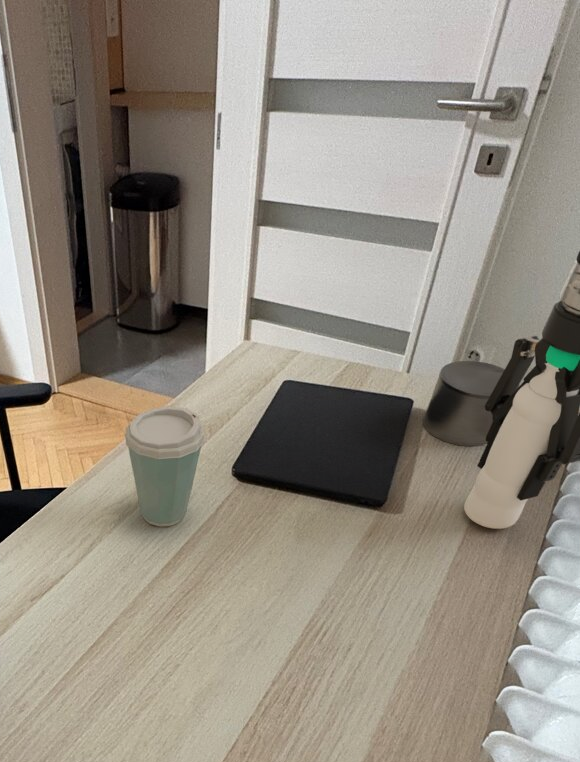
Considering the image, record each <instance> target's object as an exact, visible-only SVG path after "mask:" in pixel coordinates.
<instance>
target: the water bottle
mask: <svg viewBox="0 0 580 762" xmlns="http://www.w3.org/2000/svg"><path fill="white" fill-rule="evenodd" d="M579 360H580V355H577V354H572V353H568V352H564V351H561V350H558V349H556V348H554V347H552V346H550V347H549V349H548V351H547V353H546V361H547V363H545V364H546V369H545V370H544V371H543V372H542V373H541V374H540V375H537V376H535V377H534V378H532V379H531V381H530V382H529V383H526V384H525V385H524V386H523V387H521V388H520V389H519V391H518V392H517V393H516V395H515V397H514V399H513V406H512V407H511V409H510V411H509V412H508V414H507V416H506V418H505V420H504V422H503V424H502V426H501V428H500V430H499V432H498V434H497V436H496V438H495V440H494V442H493V445H492V447H491V449H490V452H489V454H488V457H487V460H486V463H485V465H484V467H483V468H482V469H480V471H479V473H478V475H477V477H476V479H475V483H474V486H473V487H472V489H471V491H470V492H469V494H468V496H467V498H466V500H465V502H464V505H463V507H464V512H465V514H466V516H467V517H468V518H469V519H470V520H471V521H472V522H474V523H475V524H478V526H480V527H481V526H482V527H485V528H488V529H494V530H501V529H506V528H510V527H512V526H514V525H515V524H516V523H517V521H518V520H519V518H520V517H521V515H522V512H523V510H524V509H525V505H526V503H527V501H528V500H529V499H525V500H519V499H518V498H517V496H518V494H519V492H520V490H521V488H522V486H523V484H524V482H525V481H526V479H527V477H528V475H529V473H530V471H531V469H532V468H533V466H534V464H535V462H536V460H537V458H538V456H539V455H542V454H547V448H548V442H549V437H550V431H551V428H552V426H553V425H554V424H555V423H556V422H557V420H558V419H559V416H560V413H561V404H559V403H557V401H556V400H555V398H556V396H557V387H556V381H555V374H556V372H559V370H558V369H559V368H560V369H562V368H563V367H565V368H567V369H568V370H569V371H573V370H574V369H575V368H576V366H577V364H578V362H579ZM529 386H530V387H529ZM530 388H531V389H532V390H533V391H532V390H531V389H530ZM578 393H579V389H578V390H575V391H571V392H567V393H566V397H568V396H573V395H576V394H578Z"/></svg>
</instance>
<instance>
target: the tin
mask: <svg viewBox="0 0 580 762" xmlns="http://www.w3.org/2000/svg"><path fill="white" fill-rule="evenodd" d="M504 370H505V368H503V367H501V366H498V365H495V364H492V363H488V362H484V361H477V360H476V361H475V360H457V361H453V362H449V363H447V364H444V365H443V366H442V368H440V370H439V374H438V378H437V381H436V383H435V386H434V389H433V392H432V395H431V397H430V400H429V402H428V404H427V408H426V411H425V414H424V416H423V419H422V425H423V428H424V429H425V430H426V432H427V433H428V434H430V435H431V436H432V437H434V438H436V439H437V440H440V441H442V442H445V443H448V444H452V445H456V446H463V447H464V446H465V447H477V446H478V447H479V446H484V445H487V443H488V442H487V441H486V436H487V433H488V431H489V429H490V427H491V425H492V422H493V419H492V417H493V415H492V413H491V412H490V411H486V410H485V404H486V403H487V401H488V399H489V397H490V395H491V393H492V392H493V390H494V388H495V386H496V384H497V383H498V381H499V379H500V377H501V375H502V373H503V372H504ZM519 386H520V384H519V385H518V387H519ZM518 387H517V388H518ZM515 391H516V390H515Z"/></svg>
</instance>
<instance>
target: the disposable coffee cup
mask: <svg viewBox="0 0 580 762" xmlns="http://www.w3.org/2000/svg"><path fill="white" fill-rule="evenodd" d="M124 437H125V445H126V446H127V448H128V453H129V458H130V464H131V468H132V474H133V479H134V485H135V489H136V495H137V498H138V504H139V509H140V515H141V516H142V518H143V519H144V520H145V521H146V522H147V523H148V524H150V525H153V526H155V527H172V526H174V525H176V524H179V523H181V521H182V520H183V518H184V516H185V514H186V513H187V512H188V511H187V510H188V507H189V502H190V498H191V493H192V489H193V486H194V479H195V475H196V472H197V466H198V463H199V458H200V453H201V450H202V445H203V444H204V442H205V441H206V439H205V431H204V429H203V425H202V423H201V420H200V416H198V415H197V414H196V413H195V412H193V411H192V410H191V409H189V408H187V407H182V406H181V407H180V406H174V405H168V406H160V407H153V408H150V409H148V410H146V411H144V412H141V413H139V414H137V415H136V416H134V418H133V420H131V422H130V423H129V424H128V425H127V426H126V427H125V433H124Z"/></svg>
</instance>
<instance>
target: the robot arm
mask: <svg viewBox="0 0 580 762" xmlns="http://www.w3.org/2000/svg"><path fill="white" fill-rule="evenodd" d="M558 297H559V299H560V300H559V301H557V302H555V304H554V305H553V307H552V309H551V311H550V313H549V316H548V317H547V320H546V322H545V325H544V326H543V329H542V331H541V336H542V337H541V338H539V337H538V336H537V335H533V336H532V335H531V336H528V337H523V338H518V339H516V340H515V342H514V345H513V349H512V353H511V356H510V359H509V361H508V362H507V364H506V366H505V368H504V369H505V370H504V372H503V373H502V375H501V377H500V379H499V381H498V383H497V384H496V386H495V388H494V390H493V392H492V393H491V395H490V397H489V399H488V401H487V403H486V404H485V410H486V411H490V412H491V413H492V415H493V417H492V419H493V422H492V425H491V427H490V429H489V431H488V433H487V436H486V441H487V442H488V443H486V444H485V445H486V446H485V447H484V449H483V452H482V454H481V457H480V459H479V461H478V463H477V465H476V467H477V468H479V469H480V470H481V469H482V468H483V467H484V465H485V463H486V460H487V457H488V454H489V452H490V449H491V447H492V445H493V442H494V440H495V438H496V436H497V434H498V432H499V430H500V428H501V426H502V424H503V422H504V420H505V418H506V416H507V414H508V412H509V411H510V409H511V407H512V406H513V399H514V397H515V395H516V393H517V392H518V391H519V389H520V388H521V387H523V386H524V385H525V384H526V383H529V382H530V381H531V379H532V378H534V377H535V376H537V375H540V374H541V373H542V372H543V371H544V370H545V369H546V364H545V363H547V361H546V353H547V351H548V349H549V347H550V346H552V347H554V348H556V349H558V350H561V351H564V352H568V353H572V354H577V355H580V250H579V251H578V254H577V255H576V258H575V260H574V262H573V265H572V266H571V269H570V271H569V273H568V275H567V278H566V280H565V282H564V284H563V286H562V288H561V289H560V293H559V295H558ZM534 360H535V365H534V366H533V368H532V369H531V370H530V371H529V372H528V373H527V371H528V370H529V368H530V366H531V365H532V363H533V361H534ZM558 370H559V372H556V374H555V381H556V387H557V396H556V398H555V400H556V401H557V403H559V404H561V413H560V416H559V419H558V420H557V422H556V423H555V424H554V425H553V426H552V428H551V431H550V437H549V442H548V448H547V454H542V455H539V456H538V458H537V460H536V462H535V464H534V466H533V468H532V469H531V471H530V473H529V475H528V477H527V479H526V481H525V482H524V484H523V486H522V488H521V490H520V492H519V494H518V496H517V498H518V499H519V500H525V499H528V500H529V499H532V498H536V497H539V495H540V493H541V491H542V489H543V487H544V486H545V485H546V482H549V481H552V480H554V478H556V476H557V474H558V472H559V470H560V469H561V467H562V466H563V465H568V464H572V463H577V462H580V360H579V362H578V364H577V366H576V368H575V369H574V370H573V371H569V370H568V369H567V368H565V367H563V368H562V369H560V368H559V369H558ZM526 373H527V374H526ZM522 380H523V382H522ZM518 385H519V387H518ZM517 387H518V388H517ZM529 387H530V386H529ZM530 389H531V388H530ZM578 389H579V393H578V394H576V395H573V396H568V397H566V393H567V392H571V391H575V390H578ZM515 390H516V391H515ZM531 390H532V389H531ZM532 391H533V390H532Z"/></svg>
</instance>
